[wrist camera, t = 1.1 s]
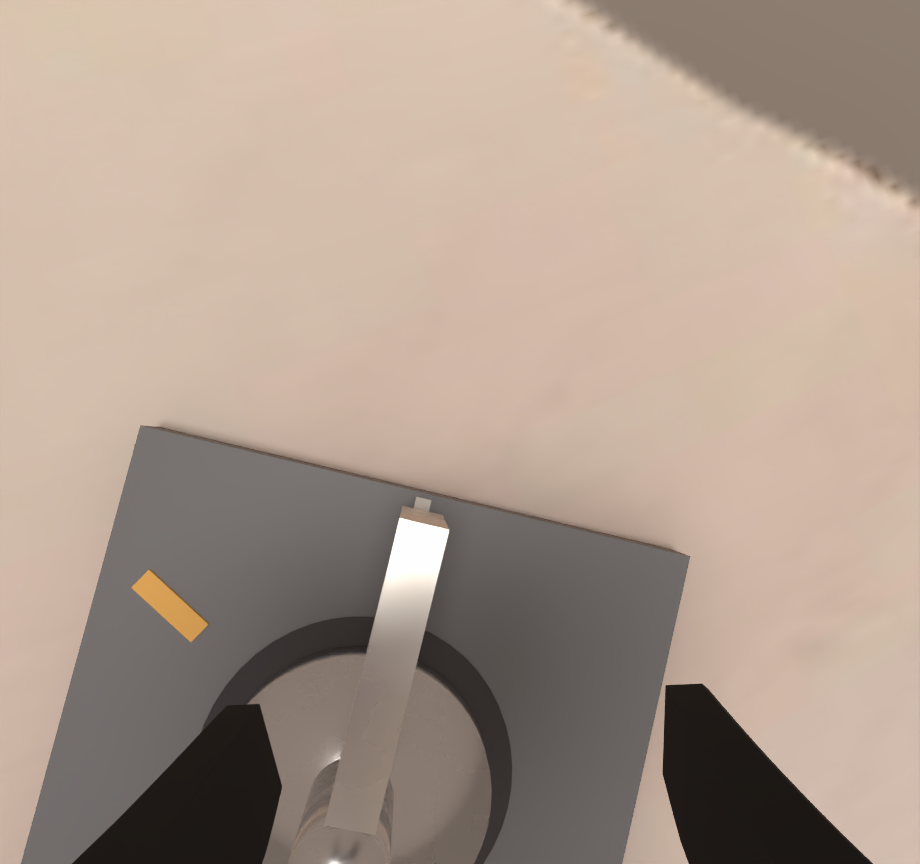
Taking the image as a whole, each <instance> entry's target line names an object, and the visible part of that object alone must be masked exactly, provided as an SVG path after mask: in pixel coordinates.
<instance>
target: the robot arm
mask: <svg viewBox="0 0 920 864" xmlns="http://www.w3.org/2000/svg"><path fill="white" fill-rule="evenodd" d="M663 777H664V780H665V784H666V788H667V792H668V796H669V800H670V803H671V807H672V811H673V815H674V818H675V822H676V826H677V829H678V833H679V837H680V840H681V843H682V846H683V849H684V852H685V854H686V857H687V860H688V863H689V864H873V863H872V862H871V861H870V860H869V859H867V858H866V857H865V856H864V855H863V854H862V853H861V852H860V851H859V850H858V849H857V848H856V847H855V846H854V845H853V844H852V843H851V842H850V841H849V840H848V839H847V838H846V837H845V836H844V835H843V834H842V833H841V832H840V831H839V830H838V829H837V828H836V827H835V826H834V825H833V824H832V823H831V822H830V821H829V820H828V819H827V818H826V817H825V816H824V815H823V814H822V813H821V812H820V811H819V810H818V809H817V808H816V807H815V806H814V805H813V804H812V803H811V802H810V801H809V800H808V799H807V798H806V797H805V796H804V795H803V794H802V793H801V792H800V791H799V790H798V789H797V787H796V786H795V785H794V784H793V783H792V782H791V781H790V780H789V779H788V778H787V777H786V776H785V775H784V774H783V773H782V772H781V771H780V770H779V769H778V767H777V766H776V765H775V764H774V763H773V762H772V761H771V760H770V759H769V758H768V757H767V756H766V754H765V753H764V752H763V751H762V750H761V749H760V748H759V747H758V746H757V744H756V743H755V742H754V741H753V740H752V739H751V738H750V737H749V736H748V734H747V733H746V732H745V731H744V730H743V729H742V728H741V727H740V725H739V724H738V723H737V722H736V721H735V720H734V719H733V717H732V716H731V715H730V714H729V713H728V712H727V710H726V709H725V708H724V707H723V706H722V705H721V703H720V702H719V701H718V700H717V699H716V698H715V696H714V695H713V694H712V693H711V692H710V691H709V689H708V688H706V687H705V686H704V685H703V684H685V685H666V691H665V720H664V750H663ZM281 790H282V784H281V780H280V777H279V773H278V769H277V766H276V762H275V758H274V755H273V751H272V747H271V744H270V740H269V736H268V733H267V729H266V725H265V722H264V718H263V714H262V711H261V707H260V704H246V705H227V706H226V707H225V708H224V709H223V710H222V711H221V712H220V713H219V714H218V715H217V716H216V717H215V718H214V719H213V720H212V721H211V722H210V724H209V725H208V726H207V727H206V728H205V729H204V730H203V731H202V732H201V733H200V734H199V735H198V736H197V737H196V738H195V739H194V740H193V742H192V743H191V744H190V745H189V746H188V747H187V748H186V749H185V750H184V751H183V752H182V753H181V754H180V755H179V756H178V757H177V758H176V759H175V761H174V762H173V763H172V764H171V765H170V766H169V767H168V768H167V769H166V770H165V771H164V772H163V773H162V774H161V775H160V776H159V777H158V778H157V779H156V780H155V781H154V782H153V784H152V785H151V786H150V787H149V788H148V789H147V790H146V791H145V792H144V793H143V794H142V795H141V796H140V797H139V798H138V799H137V800H136V801H135V802H134V803H133V804H132V805H131V806H130V807H129V808H128V809H127V810H126V811H125V812H124V813H123V814H122V815H121V816H120V817H119V818H118V819H117V820H116V821H115V822H114V823H113V824H112V825H111V826H110V827H109V828H108V829H107V830H106V831H105V832H104V833H103V834H102V835H101V836H100V837H99V838H98V839H97V840H96V841H95V842H94V843H93V844H92V845H91V846H90V847H89V848H88V849H86V850H85V851H84V852H83V853H82V854H81V855H80V856H79V857H78V858H77V859H76V860H75V861H74V862H73V863H72V864H262V862H263V860H264V857H265V854H266V850H267V847H268V843H269V839H270V835H271V831H272V828H273V824H274V820H275V816H276V811H277V807H278V803H279V799H280V795H281Z"/></svg>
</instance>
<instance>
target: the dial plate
mask: <svg viewBox="0 0 920 864" xmlns="http://www.w3.org/2000/svg"><path fill="white" fill-rule="evenodd" d="M402 505H403V506H407V507H412V508H416V509H420V510H424V511H428V512H433V513H437V514H441V515H443V517H444V519H445V521H446V524H447V526H448V528H449V533H448V537H447V541H446V545H445V549H444V553H443V558H442V562H441V566H440V570H439V574H438V578H437V582H436V586H435V591H434V595H433V599H432V603H431V607H430V611H429V615H428V619H427V623H426V628H425V632H424V636H423V640H422V644H421V648H420V652H419V656H418V660H419V661H420V662H422V663H424V664H425V665H427V666H429V667H430V668H432V669H434V670H435V671H436V672H437V673H439V674H440V675H441V676H442V677H443V678H445V679H446V680H447V681H448V682H449V683H450V684H451V685H452V686H453V687H454V688H455V689H456V691H457V692H458V693H459V694H460V695H461V697H462V698H463V700H464V701H465V702H466V704H467V705H468V707H469V709H470V710H471V712H472V714H473V716H474V718H475V720H476V722H477V725H478V727H479V730H480V733H481V736H482V739H483V743H484V747H485V751H486V756H487V760H488V765H489V769H490V777H491V789H492V793H491V811H490V817H489V823H488V828H487V831H486V834H485V838H484V841H483V844H482V847H481V849H480V851H479V854H478V856H477V858H476V860H475V863H474V864H622V862H623V857H624V853H625V848H626V844H627V839H628V835H629V830H630V826H631V821H632V817H633V812H634V808H635V803H636V799H637V794H638V790H639V785H640V781H641V776H642V771H643V767H644V762H645V758H646V753H647V749H648V744H649V740H650V735H651V731H652V726H653V722H654V717H655V713H656V708H657V704H658V699H659V695H660V690H661V686H662V681H663V677H664V672H665V667H666V663H667V658H668V654H669V649H670V645H671V640H672V636H673V631H674V627H675V622H676V618H677V613H678V609H679V604H680V600H681V595H682V591H683V586H684V582H685V577H686V573H687V568H688V563H689V559H690V556H687V555H685V554H682V553H680V552H677V551H675V550H671V549H667V548H663V547H659V546H655V545H650V544H646V543H642V542H638V541H634V540H630V539H625V538H621V537H617V536H613V535H609V534H604V533H600V532H596V531H592V530H588V529H583V528H579V527H575V526H571V525H567V524H562V523H558V522H554V521H550V520H546V519H542V518H537V517H533V516H529V515H525V514H521V513H516V512H512V511H508V510H504V509H500V508H495V507H491V506H487V505H483V504H479V503H475V502H470V501H466V500H462V499H458V498H454V497H449V496H445V495H441V494H437V493H433V492H428V491H424V490H420V489H416V488H412V487H408V486H403V485H399V484H395V483H391V482H387V481H382V480H378V479H374V478H370V477H366V476H361V475H357V474H353V473H349V472H345V471H341V470H336V469H332V468H328V467H324V466H320V465H315V464H311V463H307V462H303V461H299V460H294V459H290V458H286V457H282V456H278V455H274V454H269V453H265V452H261V451H257V450H253V449H248V448H244V447H240V446H236V445H232V444H227V443H223V442H219V441H215V440H211V439H207V438H202V437H198V436H194V435H190V434H186V433H181V432H177V431H173V430H169V429H165V428H160V427H152V426H140V429H139V433H138V436H137V440H136V444H135V447H134V451H133V455H132V458H131V462H130V466H129V469H128V473H127V477H126V480H125V484H124V488H123V491H122V495H121V499H120V502H119V506H118V510H117V513H116V517H115V521H114V525H113V528H112V532H111V536H110V539H109V543H108V547H107V550H106V554H105V558H104V561H103V565H102V569H101V572H100V576H99V580H98V583H97V587H96V591H95V594H94V598H93V602H92V605H91V609H90V613H89V616H88V620H87V624H86V627H85V631H84V635H83V638H82V642H81V646H80V649H79V653H78V657H77V660H76V664H75V668H74V671H73V675H72V679H71V682H70V686H69V690H68V693H67V697H66V701H65V704H64V708H63V712H62V715H61V719H60V723H59V726H58V730H57V734H56V737H55V741H54V745H53V748H52V752H51V756H50V759H49V763H48V767H47V770H46V774H45V778H44V781H43V785H42V789H41V793H40V796H39V800H38V804H37V807H36V811H35V815H34V818H33V822H32V826H31V829H30V833H29V837H28V840H27V844H26V848H25V851H24V855H23V859H22V862H21V864H72V863H73V862H74V861H75V860H76V859H77V858H78V857H79V856H80V855H81V854H82V853H83V852H84V851H85V850H86V849H88V848H89V847H90V846H91V845H92V844H93V843H94V842H95V841H96V840H97V839H98V838H99V837H100V836H101V835H102V834H103V833H104V832H105V831H106V830H107V829H108V828H109V827H110V826H111V825H112V824H113V823H114V822H115V821H116V820H117V819H118V818H119V817H120V816H121V815H122V814H123V813H124V812H125V811H126V810H127V809H128V808H129V807H130V806H131V805H132V804H133V803H134V802H135V801H136V800H137V799H138V798H139V797H140V796H141V795H142V794H143V793H144V792H145V791H146V790H147V789H148V788H149V787H150V786H151V785H152V784H153V782H154V781H155V780H156V779H157V778H158V777H159V776H160V775H161V774H162V773H163V772H164V771H165V770H166V769H167V768H168V767H169V766H170V765H171V764H172V763H173V762H174V761H175V759H176V758H177V757H178V756H179V755H180V754H181V753H182V752H183V751H184V750H185V749H186V748H187V747H188V746H189V745H190V744H191V743H192V742H193V740H194V739H195V738H196V737H197V736H198V735H199V734H200V733H201V732H202V731H203V730H204V729H205V728H206V727H207V726H208V725H209V724H210V722H211V721H212V720H213V719H214V718H215V717H216V716H217V715H218V714H219V713H220V712H221V711H222V710H223V709H224V708H225V707H226V706H227V705H245V704H246V703H247V702H248V701H249V700H250V698H251V697H252V696H253V695H254V694H255V692H256V691H257V690H258V689H259V688H261V687H262V686H263V685H264V684H265V683H266V682H267V681H268V680H269V679H270V678H272V677H273V676H274V675H276V674H277V673H279V672H280V671H281V670H283V669H284V668H286V667H288V666H289V665H291V664H293V663H295V662H297V661H299V660H301V659H303V658H306V657H308V656H311V655H313V654H316V653H319V652H323V651H327V650H331V649H335V648H343V647H352V646H356V647H368V643H369V639H370V635H371V631H372V627H373V623H374V619H375V614H376V610H377V606H378V602H379V598H380V594H381V590H382V586H383V582H384V578H385V574H386V570H387V566H388V562H389V558H390V554H391V550H392V546H393V542H394V538H395V534H396V530H397V526H398V522H399V517H400V513H401V509H402Z"/></svg>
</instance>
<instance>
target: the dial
mask: <svg viewBox="0 0 920 864" xmlns="http://www.w3.org/2000/svg"><path fill="white" fill-rule="evenodd" d="M448 533H449V528H448V526H447V524H446V521H445V519H444V517H443V515H441V514H437V513H433V512H428V511H424V510H420V509H416V508H412V507H407V506H403V505H402V509H401V513H400V517H399V522H398V526H397V530H396V534H395V538H394V542H393V546H392V550H391V554H390V558H389V562H388V566H387V570H386V574H385V578H384V582H383V586H382V590H381V594H380V598H379V602H378V606H377V610H376V614H375V619H374V623H373V627H372V631H371V635H370V639H369V643H368V647H356V646H352V647H343V648H335V649H331V650H327V651H323V652H319V653H316V654H313V655H311V656H308V657H306V658H303V659H301V660H299V661H297V662H295V663H293V664H291V665H289V666H288V667H286V668H284V669H283V670H281V671H280V672H279V673H277V674H276V675H274V676H273V677H272V678H270V679H269V680H268V681H267V682H266V683H265V684H264V685H263V686H262V687H261V688H259V689H258V690H257V691H256V692H255V694H254V695H253V696H252V697H251V698H250V700H249V701H248V702H247V703H246V704H260V707H261V711H262V714H263V718H264V722H265V725H266V729H267V733H268V736H269V740H270V744H271V747H272V751H273V755H274V758H275V762H276V766H277V769H278V773H279V777H280V780H281V784H282V790H281V795H280V799H279V803H278V807H277V811H276V816H275V820H274V824H273V828H272V831H271V835H270V839H269V843H268V847H267V850H266V854H265V857H264V860H263V862H262V864H474V863H475V860H476V858H477V856H478V854H479V851H480V849H481V847H482V844H483V841H484V838H485V834H486V831H487V828H488V823H489V817H490V811H491V793H492V789H491V777H490V769H489V765H488V760H487V756H486V751H485V747H484V743H483V739H482V736H481V733H480V730H479V727H478V725H477V722H476V720H475V718H474V716H473V714H472V712H471V710H470V709H469V707H468V705H467V704H466V702H465V701H464V700H463V698H462V697H461V695H460V694H459V693H458V692H457V691H456V689H455V688H454V687H453V686H452V685H451V684H450V683H449V682H448V681H447V680H446V679H445V678H443V677H442V676H441V675H440V674H439V673H437V672H436V671H435V670H434V669H432V668H430V667H429V666H427V665H425V664H424V663H422V662H420V661H419V660H418V656H419V652H420V648H421V644H422V640H423V636H424V632H425V628H426V623H427V619H428V615H429V611H430V607H431V603H432V599H433V595H434V591H435V586H436V582H437V578H438V574H439V570H440V566H441V562H442V558H443V553H444V549H445V545H446V541H447V537H448ZM246 704H245V705H246Z"/></svg>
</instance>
